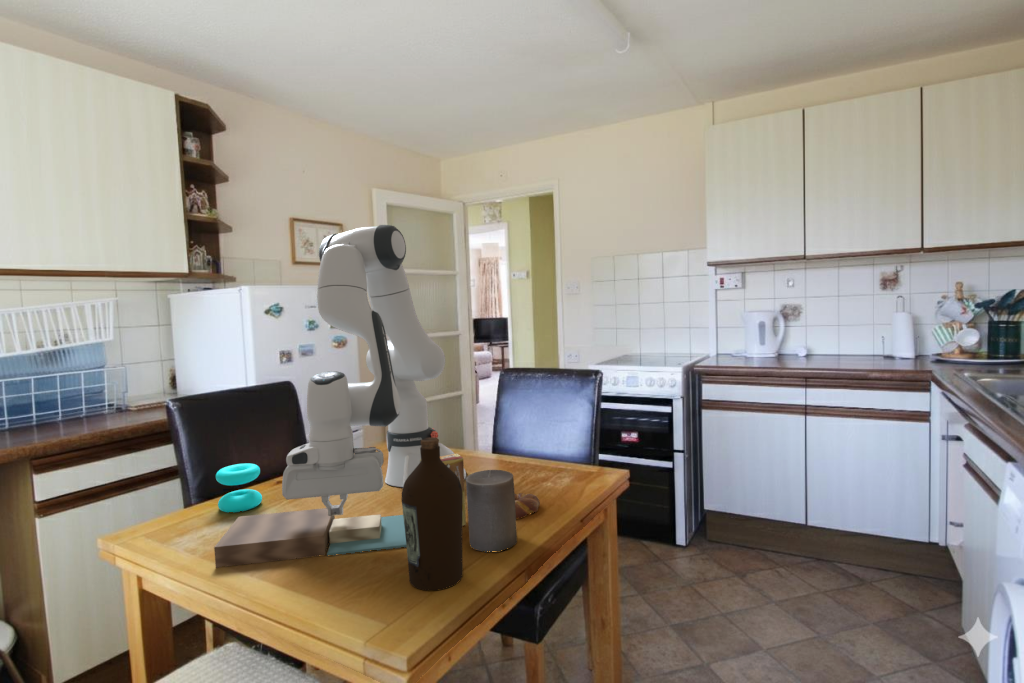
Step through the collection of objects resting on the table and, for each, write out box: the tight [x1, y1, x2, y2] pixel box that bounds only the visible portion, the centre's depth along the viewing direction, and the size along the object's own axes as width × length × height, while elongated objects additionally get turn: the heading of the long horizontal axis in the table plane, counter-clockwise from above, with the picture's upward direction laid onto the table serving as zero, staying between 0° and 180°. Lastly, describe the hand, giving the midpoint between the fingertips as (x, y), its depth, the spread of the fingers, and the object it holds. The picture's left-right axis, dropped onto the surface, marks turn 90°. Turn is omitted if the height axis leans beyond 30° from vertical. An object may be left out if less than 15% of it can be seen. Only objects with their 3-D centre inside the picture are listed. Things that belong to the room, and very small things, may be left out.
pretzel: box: [515, 492, 540, 519], centre depth 132 cm, size 12×11×4 cm
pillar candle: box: [464, 469, 518, 553], centre depth 114 cm, size 10×10×15 cm
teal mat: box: [326, 514, 407, 557], centre depth 121 cm, size 16×17×1 cm
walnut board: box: [213, 507, 336, 568], centre depth 118 cm, size 20×16×4 cm
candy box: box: [420, 453, 467, 527], centre depth 123 cm, size 9×4×15 cm, turn 116°
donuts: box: [215, 462, 263, 513], centre depth 141 cm, size 10×10×10 cm
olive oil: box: [401, 437, 464, 591], centre depth 100 cm, size 11×11×25 cm
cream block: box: [329, 514, 382, 544], centre depth 120 cm, size 10×7×2 cm
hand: (335, 514), depth 120 cm, fingers closed
